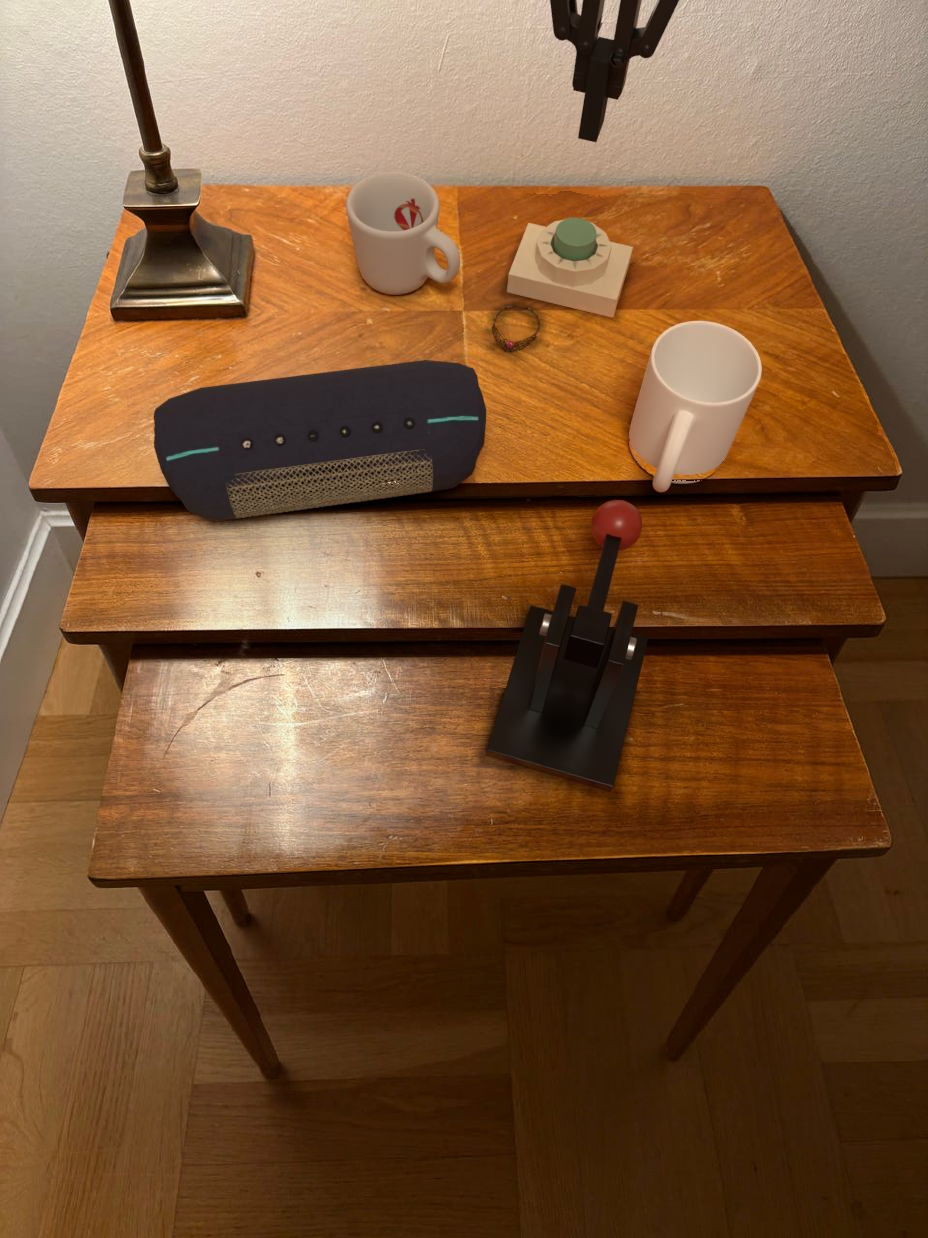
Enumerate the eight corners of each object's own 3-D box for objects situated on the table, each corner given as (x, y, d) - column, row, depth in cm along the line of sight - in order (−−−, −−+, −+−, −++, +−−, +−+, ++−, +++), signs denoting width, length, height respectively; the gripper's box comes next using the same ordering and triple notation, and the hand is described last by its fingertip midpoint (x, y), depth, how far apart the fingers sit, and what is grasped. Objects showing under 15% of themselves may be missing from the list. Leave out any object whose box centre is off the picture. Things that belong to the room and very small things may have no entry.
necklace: (484, 351, 86) (484, 343, 85) (500, 301, 89) (500, 293, 88) (530, 361, 85) (531, 353, 85) (544, 311, 88) (546, 302, 87)
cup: (480, 280, 90) (485, 208, 83) (431, 333, 87) (431, 262, 80) (386, 232, 93) (382, 157, 86) (334, 281, 89) (326, 208, 82)
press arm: (591, 521, 72) (601, 484, 69) (639, 534, 72) (651, 497, 69) (551, 662, 63) (560, 626, 60) (605, 678, 62) (618, 641, 60)
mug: (696, 537, 78) (731, 457, 69) (598, 501, 79) (620, 419, 70) (736, 427, 83) (774, 340, 74) (644, 396, 84) (670, 306, 75)
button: (597, 238, 88) (600, 222, 86) (588, 265, 86) (591, 250, 85) (559, 229, 88) (561, 213, 87) (549, 256, 87) (551, 240, 85)
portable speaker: (177, 552, 76) (144, 476, 67) (170, 450, 80) (138, 365, 71) (495, 508, 78) (503, 428, 70) (471, 411, 83) (476, 325, 74)
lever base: (529, 612, 74) (545, 526, 64) (645, 644, 73) (681, 562, 63) (485, 756, 69) (495, 688, 58) (610, 792, 68) (643, 730, 57)
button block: (629, 265, 92) (637, 230, 88) (612, 318, 88) (620, 284, 85) (526, 241, 93) (530, 205, 89) (506, 292, 89) (509, 257, 86)
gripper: (773, -250, 57) (680, 118, 78) (558, -289, 59) (523, 83, 80) (754, -189, 54) (662, 178, 75) (526, -232, 55) (498, 141, 76)
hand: (591, 129), depth 77 cm, fingers closed
